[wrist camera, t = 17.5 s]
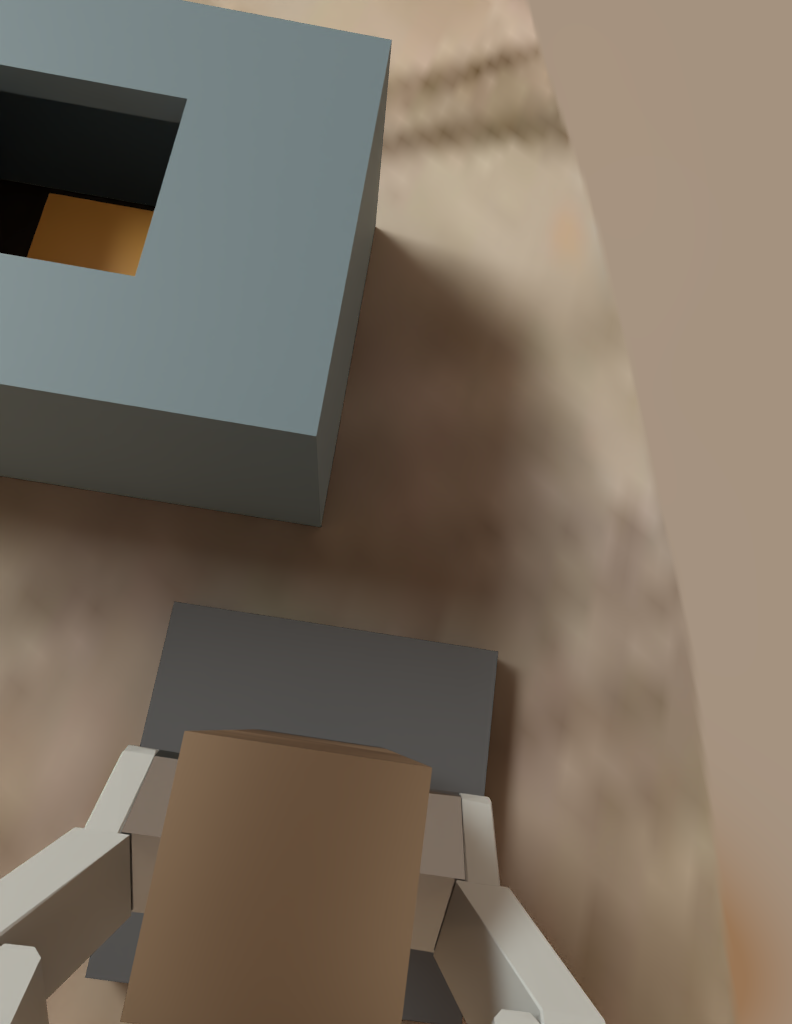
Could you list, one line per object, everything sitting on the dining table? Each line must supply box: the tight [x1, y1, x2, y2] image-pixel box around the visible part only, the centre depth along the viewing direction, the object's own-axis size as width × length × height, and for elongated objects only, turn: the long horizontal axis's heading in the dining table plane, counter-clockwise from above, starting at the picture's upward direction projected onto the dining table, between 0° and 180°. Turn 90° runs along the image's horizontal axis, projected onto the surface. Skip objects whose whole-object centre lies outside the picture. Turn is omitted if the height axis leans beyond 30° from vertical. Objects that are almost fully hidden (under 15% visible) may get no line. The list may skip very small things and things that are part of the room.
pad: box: [85, 602, 498, 1024], centre depth 19 cm, size 9×9×1 cm
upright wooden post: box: [120, 729, 432, 1024], centre depth 12 cm, size 3×3×9 cm
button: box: [27, 193, 154, 276], centre depth 21 cm, size 4×4×3 cm
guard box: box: [0, 0, 392, 527], centre depth 20 cm, size 14×11×7 cm
